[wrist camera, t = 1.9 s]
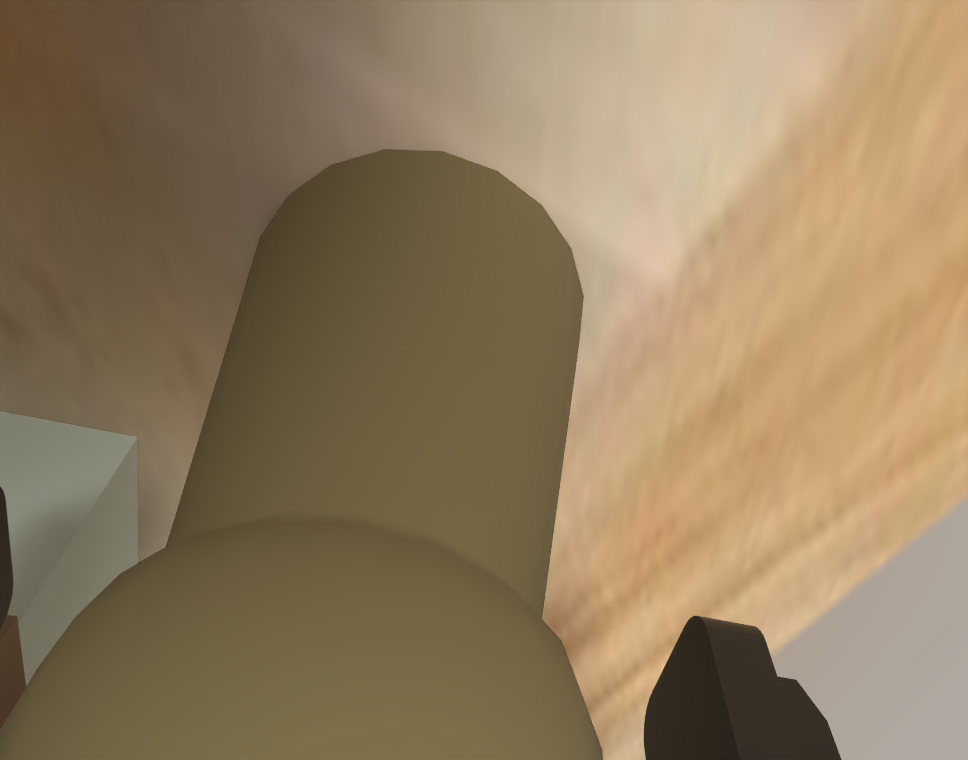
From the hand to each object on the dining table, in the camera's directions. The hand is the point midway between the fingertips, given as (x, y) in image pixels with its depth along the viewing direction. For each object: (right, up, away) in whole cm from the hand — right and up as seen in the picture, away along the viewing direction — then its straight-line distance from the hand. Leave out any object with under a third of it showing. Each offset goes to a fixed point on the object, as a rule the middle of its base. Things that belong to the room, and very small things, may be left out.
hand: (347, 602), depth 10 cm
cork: (0, +4, +5) cm, 7 cm away
